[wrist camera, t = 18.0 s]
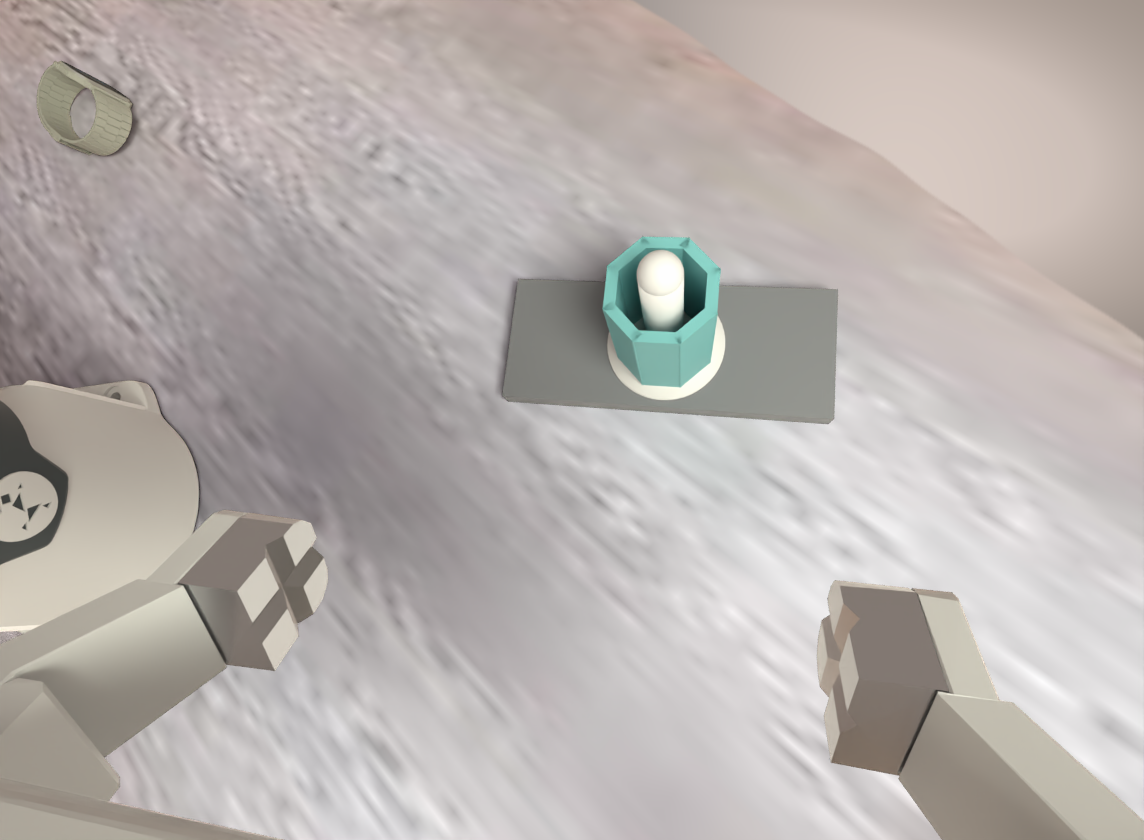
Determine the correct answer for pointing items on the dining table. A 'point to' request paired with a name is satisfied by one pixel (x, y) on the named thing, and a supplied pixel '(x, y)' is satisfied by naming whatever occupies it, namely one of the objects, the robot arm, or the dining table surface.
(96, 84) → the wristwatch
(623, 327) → the collar
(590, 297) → the post stand
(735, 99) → the dining table surface
